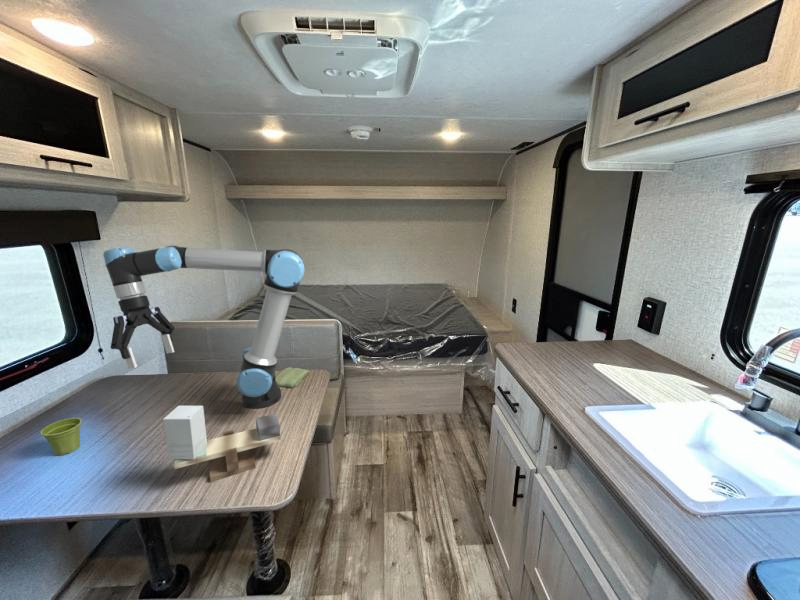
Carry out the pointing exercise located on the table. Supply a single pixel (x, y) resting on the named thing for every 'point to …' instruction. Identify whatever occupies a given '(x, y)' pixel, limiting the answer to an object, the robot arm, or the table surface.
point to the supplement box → (185, 432)
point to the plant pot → (63, 435)
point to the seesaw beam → (238, 441)
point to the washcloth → (291, 377)
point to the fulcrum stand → (231, 462)
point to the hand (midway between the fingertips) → (152, 359)
